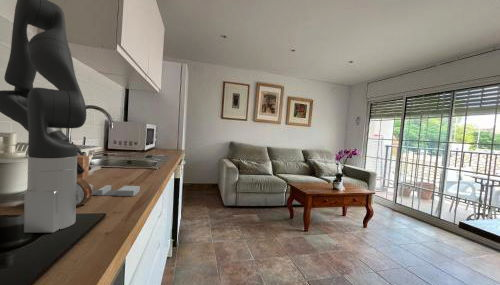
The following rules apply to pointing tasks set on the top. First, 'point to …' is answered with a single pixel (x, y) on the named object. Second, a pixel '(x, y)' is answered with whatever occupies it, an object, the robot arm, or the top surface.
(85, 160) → the block
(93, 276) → the top surface
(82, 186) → the tin
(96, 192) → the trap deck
